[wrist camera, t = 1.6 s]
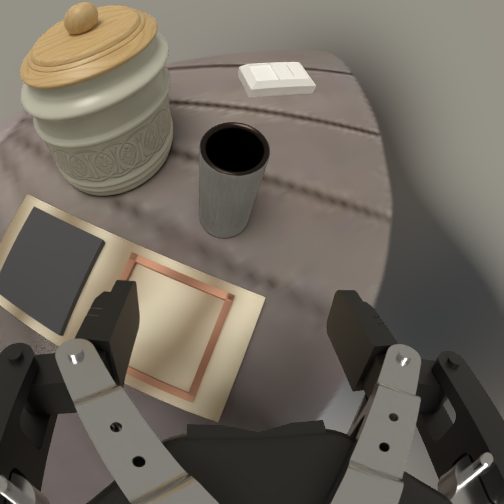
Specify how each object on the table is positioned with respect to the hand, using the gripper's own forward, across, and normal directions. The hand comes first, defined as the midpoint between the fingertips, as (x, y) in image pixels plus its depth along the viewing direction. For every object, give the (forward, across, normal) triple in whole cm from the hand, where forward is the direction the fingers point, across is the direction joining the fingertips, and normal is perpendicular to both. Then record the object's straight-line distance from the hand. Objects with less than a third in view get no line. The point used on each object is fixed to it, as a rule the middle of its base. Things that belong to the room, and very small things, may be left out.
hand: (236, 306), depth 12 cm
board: (+11, +10, +8) cm, 17 cm away
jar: (+23, +12, -3) cm, 26 cm away
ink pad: (+12, +16, +6) cm, 21 cm away
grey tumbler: (+17, 0, +2) cm, 18 cm away
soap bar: (+32, -6, -12) cm, 35 cm away
